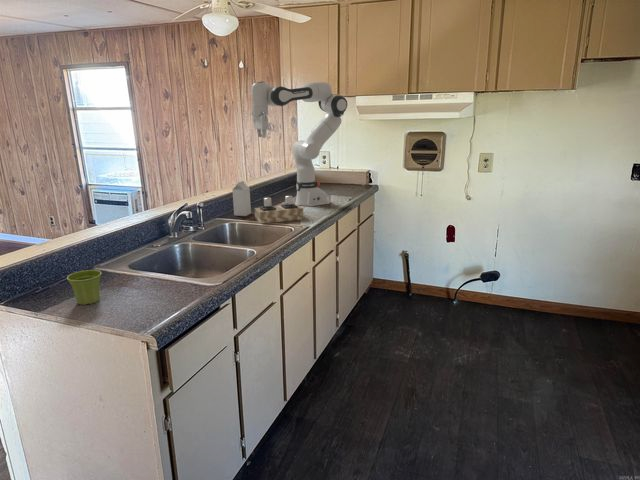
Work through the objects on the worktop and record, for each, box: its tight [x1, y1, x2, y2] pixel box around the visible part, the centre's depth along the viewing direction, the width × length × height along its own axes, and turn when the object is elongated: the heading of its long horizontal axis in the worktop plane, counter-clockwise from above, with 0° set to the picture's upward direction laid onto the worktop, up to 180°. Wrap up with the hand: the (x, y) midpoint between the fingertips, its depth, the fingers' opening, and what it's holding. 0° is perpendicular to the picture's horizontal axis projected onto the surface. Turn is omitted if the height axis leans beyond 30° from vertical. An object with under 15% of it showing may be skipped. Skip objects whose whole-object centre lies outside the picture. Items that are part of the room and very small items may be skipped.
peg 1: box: [263, 196, 273, 209], centre depth 234 cm, size 4×4×7 cm
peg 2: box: [284, 195, 294, 207], centre depth 239 cm, size 4×4×7 cm
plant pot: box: [66, 269, 103, 306], centre depth 135 cm, size 9×9×9 cm
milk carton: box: [231, 180, 252, 217], centre depth 248 cm, size 7×7×19 cm
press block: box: [253, 203, 305, 224], centre depth 238 cm, size 24×12×7 cm, turn 112°
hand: (261, 137), depth 250 cm, fingers open, 8 cm apart
